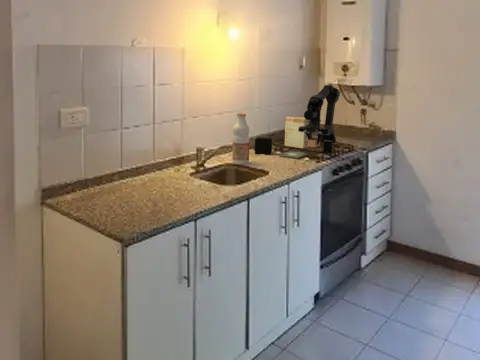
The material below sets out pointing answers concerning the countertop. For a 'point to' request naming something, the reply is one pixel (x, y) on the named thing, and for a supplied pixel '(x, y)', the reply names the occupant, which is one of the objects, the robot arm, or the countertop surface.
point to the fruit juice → (241, 140)
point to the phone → (313, 143)
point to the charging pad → (293, 155)
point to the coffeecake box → (295, 132)
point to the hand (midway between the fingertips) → (314, 144)
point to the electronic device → (263, 145)
